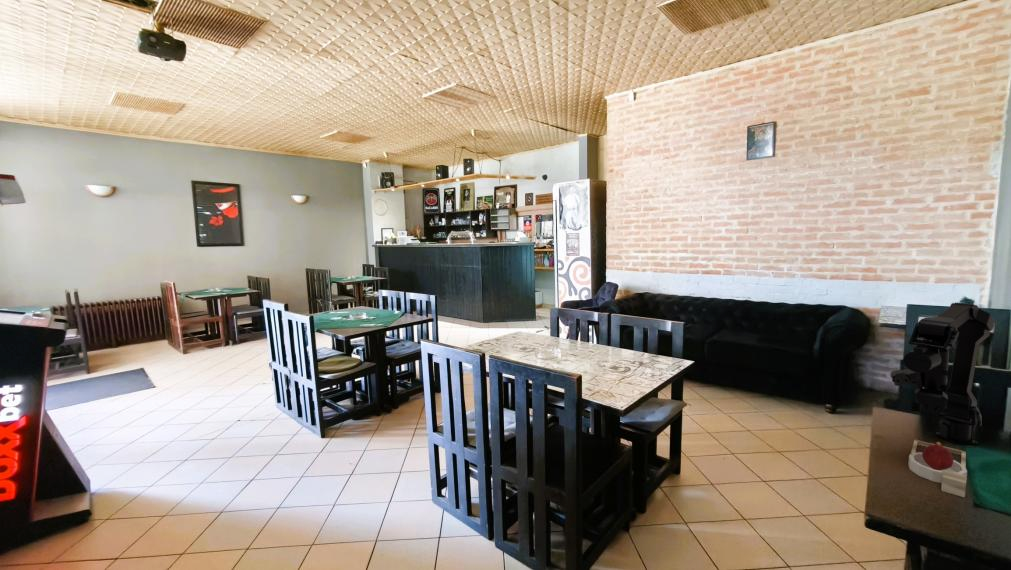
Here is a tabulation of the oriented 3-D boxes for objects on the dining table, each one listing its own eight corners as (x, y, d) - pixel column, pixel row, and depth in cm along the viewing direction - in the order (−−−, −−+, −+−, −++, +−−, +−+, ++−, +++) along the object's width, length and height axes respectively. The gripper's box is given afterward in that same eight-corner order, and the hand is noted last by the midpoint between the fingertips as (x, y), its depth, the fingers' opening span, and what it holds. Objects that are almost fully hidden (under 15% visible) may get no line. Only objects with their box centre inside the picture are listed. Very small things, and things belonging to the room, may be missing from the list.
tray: (914, 442, 128) (914, 439, 127) (965, 455, 120) (965, 451, 120) (910, 456, 121) (911, 452, 120) (965, 470, 113) (965, 466, 113)
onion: (958, 477, 109) (961, 448, 108) (932, 475, 110) (935, 447, 109) (939, 464, 115) (942, 437, 114) (915, 463, 116) (918, 436, 115)
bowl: (941, 462, 117) (941, 452, 117) (977, 485, 107) (978, 474, 106) (898, 461, 119) (899, 451, 118) (931, 484, 108) (931, 473, 108)
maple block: (941, 484, 108) (942, 469, 108) (964, 490, 105) (965, 475, 105) (941, 491, 105) (942, 476, 105) (964, 497, 103) (966, 482, 102)
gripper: (896, 350, 128) (894, 399, 130) (890, 368, 115) (887, 421, 117) (949, 357, 120) (945, 408, 122) (949, 376, 107) (945, 433, 109)
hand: (929, 417), depth 118 cm, fingers open, 9 cm apart
